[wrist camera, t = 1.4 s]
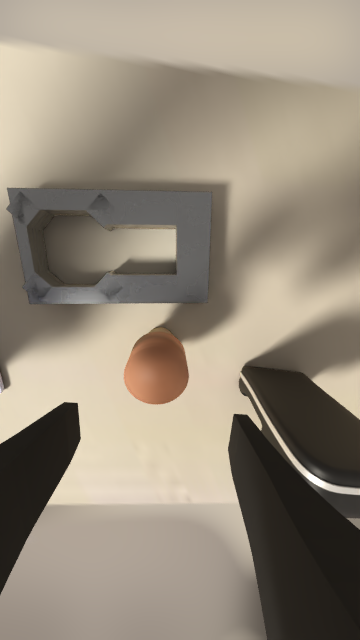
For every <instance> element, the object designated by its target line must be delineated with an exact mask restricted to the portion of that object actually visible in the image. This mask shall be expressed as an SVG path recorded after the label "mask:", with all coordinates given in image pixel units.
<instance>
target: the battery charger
mask: <svg viewBox="0 0 360 640" xmlns="http://www.w3.org/2000/svg"><path fill="white" fill-rule="evenodd" d="M239 388H240V391H241V393H242V394H243V395H244V396H248V397H249V399H250V401H251V403H252V405H253V407H254V409H255V411H256V413H257V415H258V417H259V419H260V420H261V424H262V430H261V432H262V433H263V435H264V436H265V437H266V438H267V439H268V440H269V442H270V443H271V444H272V445H273V446H274V447H275V449H276V450H277V451H278V452H279V453H280V454H281V455H282V457H283V458H284V459H285V460H286V461H287V462H288V463H289V464H290V465H291V466H292V467H293V468H294V469H295V470H296V471H297V472H298V474H299V475H300V476H301V477H302V478H303V479H304V480H305V481H306V482H307V483H308V484H309V485H310V486H311V487H312V488H313V489H314V490H316V491H317V492H318V493H319V494H320V495H321V496H322V497H323V498H324V499H325V500H326V501H327V502H328V503H330V504H331V505H332V506H333V507H334V508H335V509H336V510H337V511H338V512H339V513H341V514H342V515H343V516H344V517H345V518H360V420H359V419H358V418H357V417H356V416H354V415H353V414H352V413H351V412H350V411H348V410H347V409H346V408H345V407H343V406H342V405H341V404H340V403H338V402H337V401H336V400H335V399H333V398H332V397H331V396H330V395H328V394H327V393H326V392H324V391H323V390H322V389H321V388H320V387H318V386H317V385H316V384H315V383H314V382H313V381H311V380H310V379H309V378H308V377H307V376H306V375H305V374H303V373H300V372H293V371H285V370H276V369H267V368H258V367H248V366H245V367H243V368H242V371H241V372H240V379H239Z"/></svg>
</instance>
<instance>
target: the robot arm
mask: <svg viewBox="0 0 360 640" xmlns="http://www.w3.org/2000/svg"><path fill="white" fill-rule="evenodd" d="M3 391H4V385H3V381H2V378H1V374H0V393H2V392H3ZM80 439H81V437H80V425H79V413H78V403H68V402H64V403H63V404H61V405H59V406H58V407H56V408H55V409H53V410H52V411H50V412H49V413H47V414H46V415H44V416H43V417H41V418H40V419H38V420H37V421H35V422H34V423H32V424H31V425H29V426H28V427H26V428H25V429H23V430H22V431H20V432H19V433H17V434H16V435H14V436H13V437H11V438H9V439H8V440H6V441H5V442H3V443H1V444H0V594H1V592H2V590H3V588H4V586H5V583H6V581H7V579H8V577H9V575H10V573H11V571H12V569H13V567H14V565H15V563H16V560H17V559H18V557H19V554H20V552H21V550H22V548H23V546H24V544H25V542H26V540H27V538H28V536H29V535H30V533H31V531H32V529H33V527H34V525H35V523H36V522H37V520H38V518H39V516H40V515H41V513H42V511H43V510H44V508H45V506H46V504H47V503H48V501H49V499H50V497H51V496H52V494H53V492H54V491H55V489H56V487H57V485H58V484H59V482H60V480H61V478H62V477H63V475H64V473H65V471H66V470H67V468H68V466H69V464H70V462H71V460H72V458H73V456H74V453H75V451H76V449H77V446H78V444H79V442H80ZM228 452H229V459H230V465H231V472H232V477H233V481H234V485H235V489H236V492H237V496H238V500H239V504H240V508H241V511H242V515H243V519H244V523H245V527H246V531H247V534H248V539H249V543H250V547H251V552H252V556H253V561H254V567H255V572H256V577H257V583H258V588H259V594H260V600H261V605H262V611H263V617H264V623H265V628H266V634H267V640H360V530H359V529H358V528H357V527H356V526H355V525H353V524H352V523H351V522H350V521H349V520H347V519H346V518H345V517H344V516H343V515H342V514H341V513H339V512H338V511H337V510H336V509H335V508H334V507H333V506H332V505H331V504H330V503H328V502H327V501H326V500H325V499H324V498H323V497H322V496H321V495H320V494H319V493H318V492H317V491H316V490H314V489H313V488H312V487H311V486H310V485H309V484H308V483H307V482H306V481H305V480H304V479H303V478H302V477H301V476H300V475H299V474H298V472H297V471H296V470H295V469H294V468H293V467H292V466H291V465H290V464H289V463H288V462H287V461H286V460H285V459H284V458H283V457H282V455H281V454H280V453H279V452H278V451H277V450H276V449H275V447H274V446H273V445H272V444H271V443H270V442H269V440H268V439H267V438H266V437H265V436H264V435H263V433H262V432H261V431H260V430H259V429H258V427H257V426H256V425H255V424H254V422H253V421H252V420H251V419H250V418H249V416H248V415H242V414H234V416H233V422H232V429H231V435H230V441H229V447H228Z"/></svg>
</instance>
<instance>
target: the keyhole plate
mask: <svg viewBox="0 0 360 640" xmlns="http://www.w3.org/2000/svg"><path fill="white" fill-rule="evenodd" d="M7 190H8V195H9V200H10V205H9V206H8V207H7V210H8V211H9V212H10V213H11V214H12V216H13V221H14V226H15V231H16V236H17V241H18V247H19V252H20V257H21V262H22V267H23V272H24V278H25V284H24V285H23V287H22V288H23V289H25V290H26V291H27V293H28V298H29V303H30V304H104V303H208V280H209V255H210V231H211V206H212V192H187V191H137V190H88V189H39V188H7ZM55 215H70V216H92V217H93V218H94V219H95V220H96V221H97V222H98V223H99V224H100V225H101V226H102V227H103V228H105V229H107V230H109V231H112V229H113V228H134V229H176V274H117V273H116V272H115V271H111V272H107V273H106V274H105V276H104V277H103V278H102V279H101V280H100V281H99V282H98V283H97V284H64V283H63V282H61V281H60V280H59V279H58V278H57V277H56V276H54V275H53V274H52V273H51V272H50V271H49V268H48V262H47V256H46V249H45V243H44V237H43V229H44V228H45V227H46V226H47V224H48V223H49V222H50V221H51V219H52V218H53V217H54V216H55Z"/></svg>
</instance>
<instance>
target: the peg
mask: <svg viewBox="0 0 360 640" xmlns="http://www.w3.org/2000/svg"><path fill="white" fill-rule="evenodd" d="M188 378H189V374H188V367H187V362H186V356H185V351H184V348H183V345H182V344H181V342H180V341H179V340H178V339H177V338H176V337H175V336H173V335H172V333H171V332H170V331H169V330H168V329H166V328H162V327H159V328H155V329H153V330H151V331H150V332H149V333H148V334H146V335H144V336H142V337H141V338H140V339H139V340H138V341H137V342H136V343H135V345H134V347H133V349H132V352H131V354H130V357H129V359H128V362H127V364H126V367H125V371H124V381H125V384H126V387H127V389H128V390H129V392H130V393H131V394H132V395H133V396H134V397H135V398H137V399H138V400H140V401H142V402H145V403H148V404H164V403H168V402H170V401H172V400H174V399H176V398H177V397H178V396H180V395H181V394H182V392H183V391H184V390H185V388H186V386H187V383H188Z"/></svg>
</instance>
